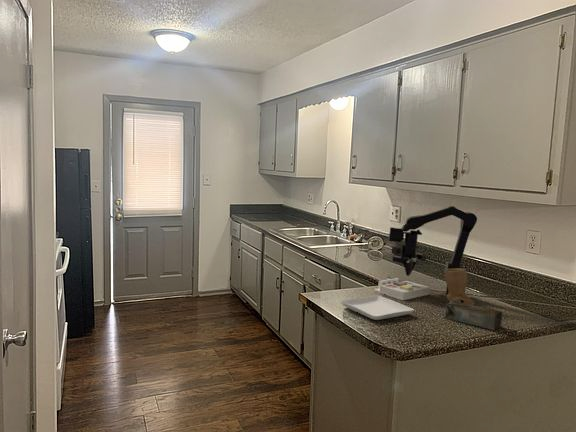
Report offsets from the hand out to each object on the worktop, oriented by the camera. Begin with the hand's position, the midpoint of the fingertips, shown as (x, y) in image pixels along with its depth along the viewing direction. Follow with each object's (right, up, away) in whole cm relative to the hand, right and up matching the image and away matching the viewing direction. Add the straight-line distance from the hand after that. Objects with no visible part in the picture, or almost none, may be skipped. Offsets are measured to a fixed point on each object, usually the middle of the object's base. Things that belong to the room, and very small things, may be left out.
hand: (407, 275), depth 218 cm
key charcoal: (-5, -5, -3) cm, 7 cm away
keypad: (-4, -8, -4) cm, 9 cm away
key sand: (-3, -5, -10) cm, 12 cm away
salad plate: (-22, -10, -36) cm, 43 cm away
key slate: (+1, -7, -6) cm, 9 cm away
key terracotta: (-9, -6, -7) cm, 13 cm away
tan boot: (+18, -10, -15) cm, 25 cm away
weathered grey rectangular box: (+14, -13, -42) cm, 46 cm away
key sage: (0, -6, +1) cm, 6 cm away
